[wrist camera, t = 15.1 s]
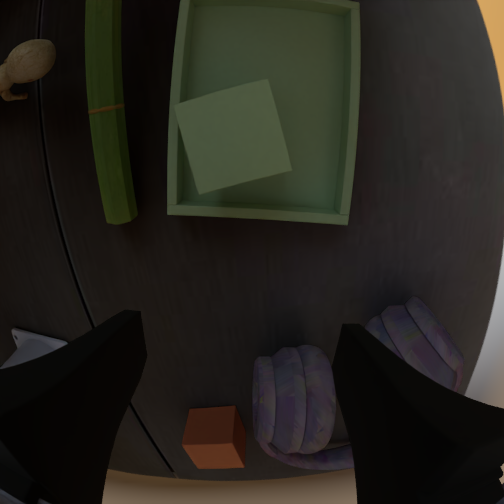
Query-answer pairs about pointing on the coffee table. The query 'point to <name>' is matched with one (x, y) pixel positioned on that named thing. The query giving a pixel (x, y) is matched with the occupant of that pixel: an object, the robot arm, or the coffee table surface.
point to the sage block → (233, 136)
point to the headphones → (323, 389)
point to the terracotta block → (215, 437)
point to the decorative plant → (108, 109)
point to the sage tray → (286, 99)
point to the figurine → (26, 66)
